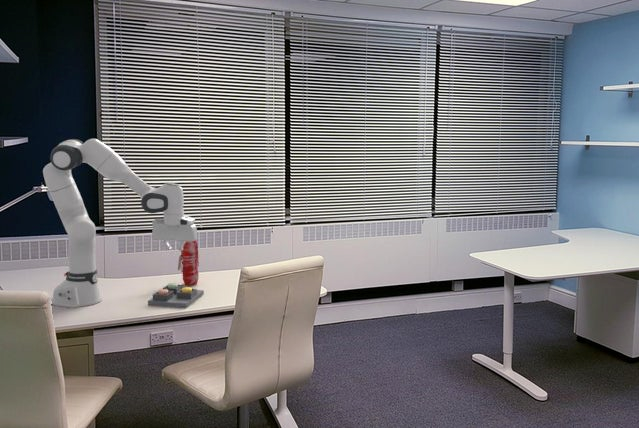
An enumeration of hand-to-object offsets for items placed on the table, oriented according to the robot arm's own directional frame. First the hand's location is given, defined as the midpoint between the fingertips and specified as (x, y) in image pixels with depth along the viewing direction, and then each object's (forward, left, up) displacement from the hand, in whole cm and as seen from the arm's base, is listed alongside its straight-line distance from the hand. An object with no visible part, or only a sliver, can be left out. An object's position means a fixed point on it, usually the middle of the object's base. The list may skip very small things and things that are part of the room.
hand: (175, 249), depth 264 cm
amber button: (+5, 0, -20) cm, 20 cm away
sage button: (-4, +5, -20) cm, 21 cm away
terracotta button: (-4, -5, -20) cm, 21 cm away
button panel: (0, 0, -23) cm, 23 cm away
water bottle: (-5, +25, -23) cm, 35 cm away
